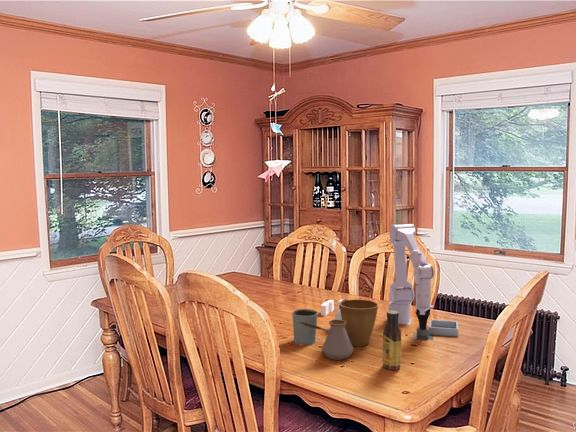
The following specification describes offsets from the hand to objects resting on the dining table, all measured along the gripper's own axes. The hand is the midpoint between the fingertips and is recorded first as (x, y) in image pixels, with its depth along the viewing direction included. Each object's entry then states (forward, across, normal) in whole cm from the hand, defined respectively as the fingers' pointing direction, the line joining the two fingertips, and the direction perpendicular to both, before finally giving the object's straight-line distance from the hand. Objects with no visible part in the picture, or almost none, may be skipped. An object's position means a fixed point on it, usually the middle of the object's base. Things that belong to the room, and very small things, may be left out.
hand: (422, 327), depth 213 cm
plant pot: (+4, -13, +24) cm, 28 cm away
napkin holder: (+5, +27, +45) cm, 53 cm away
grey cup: (+4, -16, +45) cm, 48 cm away
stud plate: (+4, 0, 0) cm, 4 cm away
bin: (+4, +9, -8) cm, 13 cm away
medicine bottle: (+4, +6, +33) cm, 34 cm away
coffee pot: (+4, -32, +33) cm, 46 cm away
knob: (+4, 0, 0) cm, 4 cm away
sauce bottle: (+4, -35, +9) cm, 36 cm away
